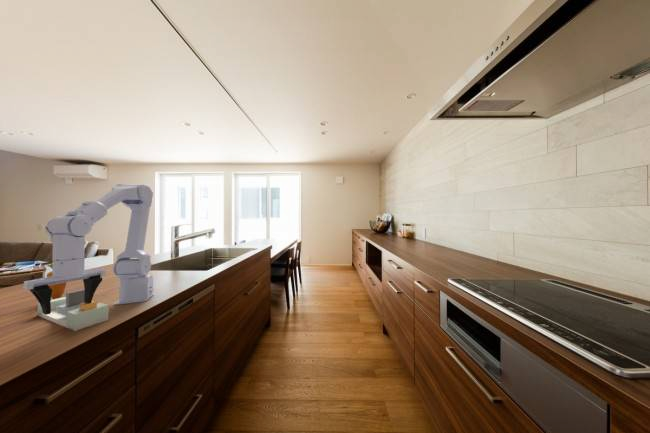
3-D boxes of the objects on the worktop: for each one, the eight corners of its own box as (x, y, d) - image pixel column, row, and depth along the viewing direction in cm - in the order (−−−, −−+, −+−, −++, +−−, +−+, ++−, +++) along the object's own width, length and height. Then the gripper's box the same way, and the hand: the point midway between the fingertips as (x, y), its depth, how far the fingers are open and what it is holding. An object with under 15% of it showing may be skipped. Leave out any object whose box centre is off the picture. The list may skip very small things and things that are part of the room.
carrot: (51, 304, 78) (52, 262, 78) (42, 303, 79) (42, 262, 79) (70, 299, 82) (70, 260, 83) (61, 298, 83) (61, 259, 84)
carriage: (57, 312, 64) (57, 292, 64) (85, 305, 70) (85, 286, 70) (66, 316, 62) (66, 295, 62) (95, 308, 67) (95, 289, 67)
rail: (37, 315, 68) (37, 301, 68) (69, 307, 75) (70, 294, 75) (74, 330, 59) (75, 314, 59) (108, 319, 65) (108, 305, 65)
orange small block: (79, 317, 62) (79, 303, 62) (92, 313, 65) (92, 300, 65) (84, 318, 61) (84, 304, 61) (96, 315, 64) (96, 301, 64)
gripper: (97, 254, 68) (96, 297, 68) (19, 262, 54) (18, 316, 54) (109, 255, 65) (108, 300, 65) (30, 265, 52) (29, 321, 52)
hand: (68, 307), depth 59 cm, fingers open, 7 cm apart
